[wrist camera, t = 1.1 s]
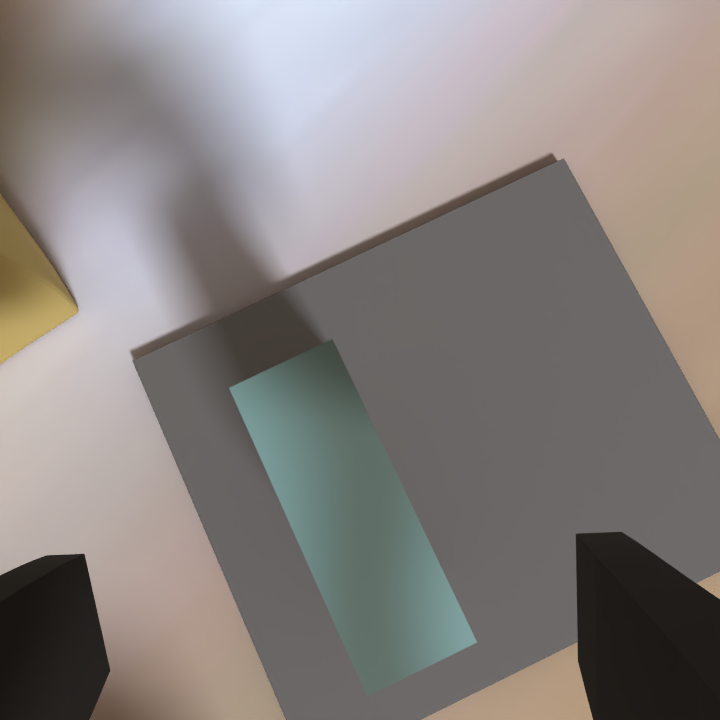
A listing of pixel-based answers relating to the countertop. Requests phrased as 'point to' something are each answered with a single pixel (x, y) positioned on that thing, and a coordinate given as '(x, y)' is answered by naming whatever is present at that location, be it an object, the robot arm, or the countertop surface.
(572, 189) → the mat
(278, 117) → the countertop surface
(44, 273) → the cheese
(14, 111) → the countertop surface
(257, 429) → the tile
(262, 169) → the countertop surface
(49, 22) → the countertop surface
